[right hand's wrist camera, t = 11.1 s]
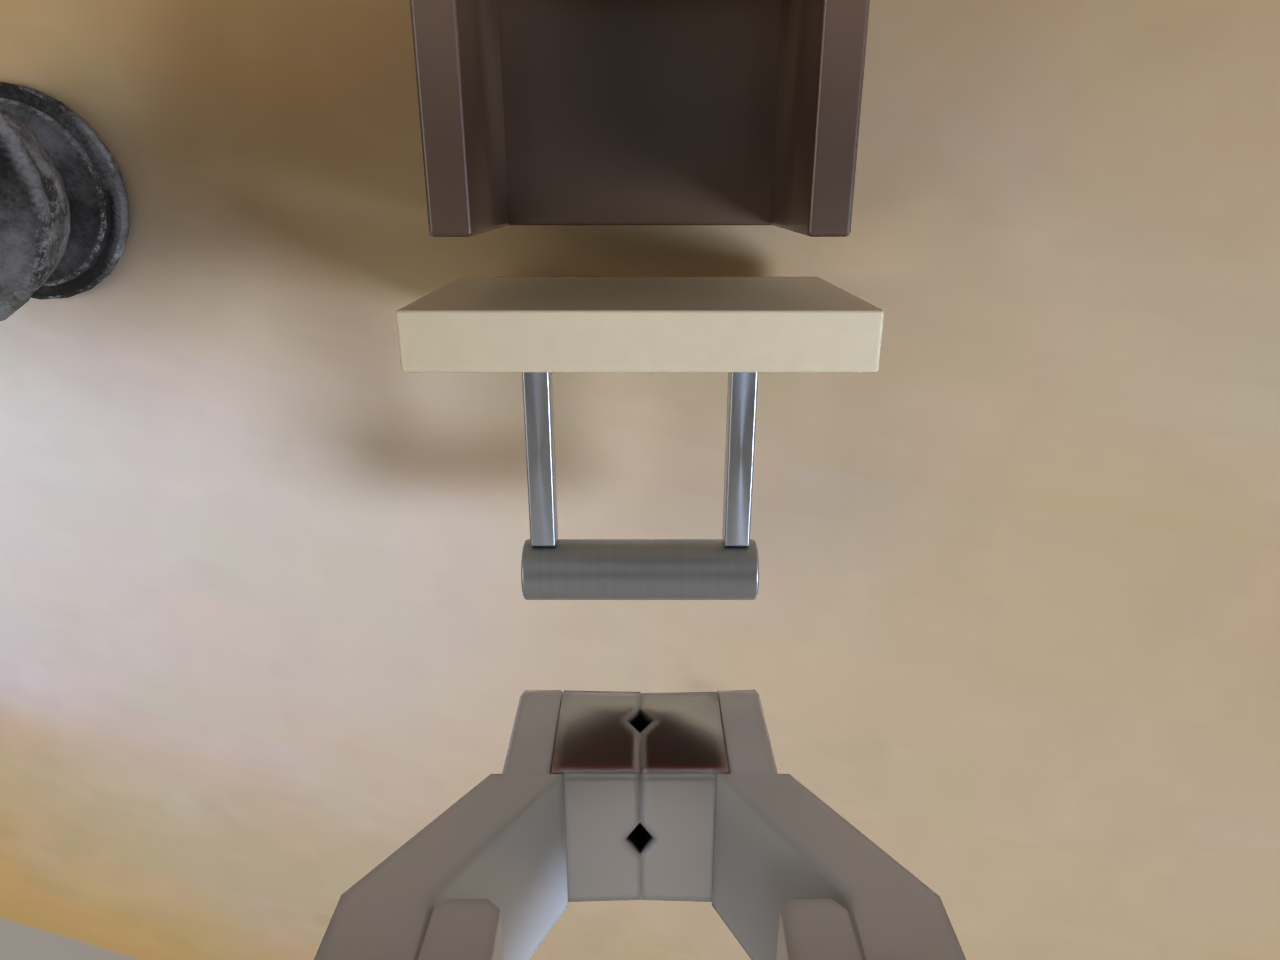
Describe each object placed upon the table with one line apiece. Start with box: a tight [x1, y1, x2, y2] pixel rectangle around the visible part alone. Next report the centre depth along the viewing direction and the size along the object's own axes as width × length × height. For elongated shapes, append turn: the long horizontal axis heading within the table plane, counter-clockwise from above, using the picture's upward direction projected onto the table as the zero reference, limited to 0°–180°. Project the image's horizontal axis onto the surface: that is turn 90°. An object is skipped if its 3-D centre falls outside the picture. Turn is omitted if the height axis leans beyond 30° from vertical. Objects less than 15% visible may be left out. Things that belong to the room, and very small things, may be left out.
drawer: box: [396, 0, 884, 600], centre depth 16 cm, size 25×9×6 cm, turn 0°
